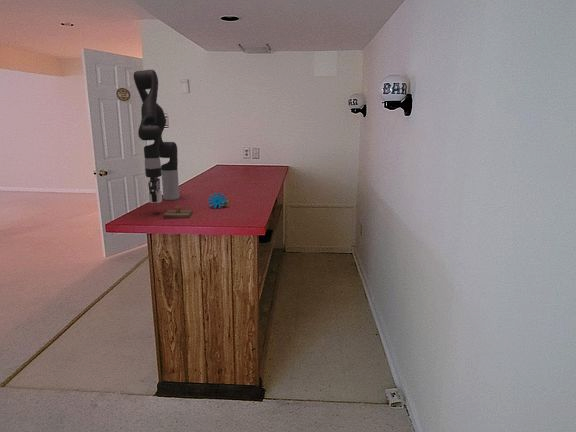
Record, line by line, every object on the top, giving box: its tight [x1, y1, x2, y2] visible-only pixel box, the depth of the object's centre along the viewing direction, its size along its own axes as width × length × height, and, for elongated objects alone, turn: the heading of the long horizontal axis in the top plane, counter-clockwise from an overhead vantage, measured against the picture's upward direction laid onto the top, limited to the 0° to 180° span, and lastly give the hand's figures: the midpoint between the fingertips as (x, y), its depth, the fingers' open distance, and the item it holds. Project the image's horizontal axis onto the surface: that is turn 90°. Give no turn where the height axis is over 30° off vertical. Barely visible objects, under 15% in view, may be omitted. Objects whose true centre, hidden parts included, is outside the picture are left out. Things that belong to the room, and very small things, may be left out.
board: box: [162, 205, 193, 219], centre depth 202 cm, size 12×12×5 cm
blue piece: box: [207, 192, 229, 210], centre depth 221 cm, size 11×6×10 cm
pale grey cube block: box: [148, 190, 163, 204], centre depth 205 cm, size 5×5×5 cm
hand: (155, 200), depth 205 cm, fingers closed on pale grey cube block, 5 cm apart
